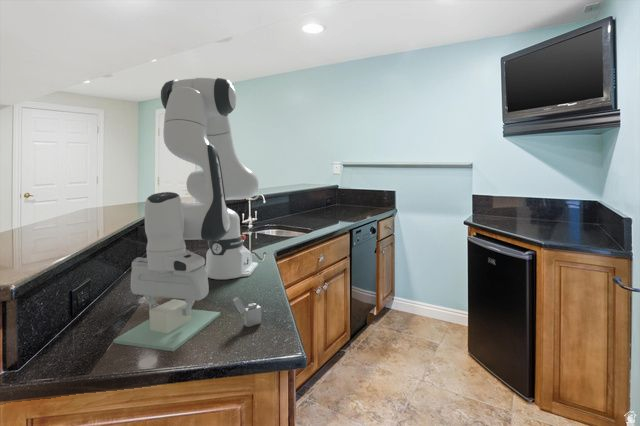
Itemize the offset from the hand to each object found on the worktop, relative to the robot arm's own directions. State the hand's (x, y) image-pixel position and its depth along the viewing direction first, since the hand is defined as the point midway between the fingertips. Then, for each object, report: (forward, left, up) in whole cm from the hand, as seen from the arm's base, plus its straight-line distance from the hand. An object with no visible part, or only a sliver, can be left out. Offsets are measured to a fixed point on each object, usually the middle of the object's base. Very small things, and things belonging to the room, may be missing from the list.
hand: (170, 313), depth 91 cm
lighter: (-6, +18, -4) cm, 19 cm away
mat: (0, 0, -4) cm, 4 cm away
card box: (0, 0, -3) cm, 3 cm away
